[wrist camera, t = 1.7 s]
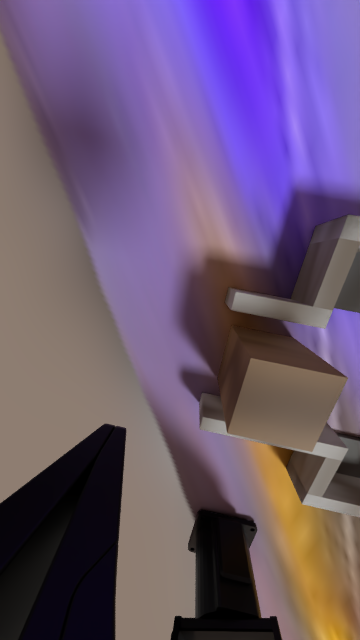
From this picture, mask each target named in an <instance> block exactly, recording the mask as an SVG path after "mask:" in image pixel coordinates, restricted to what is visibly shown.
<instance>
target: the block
mask: <svg viewBox="0 0 360 640" xmlns="http://www.w3.org/2000/svg"><path fill="white" fill-rule="evenodd" d="M217 379H218V385H219V390H220V396H221V401H222V407H223V413H224V418H225V424H226V429H227V433H228V434H233V435H237V436H242V437H246V438H251V439H255V440H260V441H264V442H269V443H273V444H278V445H282V446H287V447H291V448H296V449H300V450H305V451H309V452H312V451H313V449H314V447H315V445H316V443H317V441H318V439H319V437H320V435H321V433H322V431H323V429H324V427H325V425H326V422H327V420H328V418H329V416H330V414H331V412H332V410H333V408H334V406H335V404H336V402H337V400H338V398H339V396H340V394H341V392H342V390H343V387H344V385H345V383H346V381H347V379H348V378H347V377H346V376H345V375H343V374H342V373H341V372H339V371H338V370H336V369H335V368H334V367H332V366H331V365H330V364H328V363H327V362H326V361H324V360H323V359H321V358H320V357H319V356H317V355H316V354H315V353H313V352H312V351H311V350H309V349H308V348H306V347H305V346H304V345H302V344H301V343H300V342H298V341H297V340H296V339H294V338H293V337H288V336H283V335H278V334H273V333H268V332H263V331H258V330H253V329H248V328H243V327H238V326H233V325H231V329H230V333H229V336H228V340H227V344H226V348H225V351H224V355H223V359H222V362H221V366H220V370H219V373H218V377H217Z"/></svg>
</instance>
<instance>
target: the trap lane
mask: <svg viewBox="0 0 360 640" xmlns="http://www.w3.org/2000/svg"><path fill="white" fill-rule="evenodd" d="M225 303H226V304H227V306H228V307H229V308H230V309H231V310H233V311H238V312H243V313H248V314H253V315H258V316H263V317H268V318H273V319H279V320H284V321H289V322H294V323H299V324H304V325H309V326H314V327H319V328H324V329H325V328H326V325H327V323H328V321H329V318H330V316H331V313H332V311H333V308H337V309H342V310H347V311H353V312H358V313H360V216H355V215H349V214H348V215H345V216H343V217H340V218H337V219H334V220H331V221H328V222H326V223H323V224H320V225H317V226H316V227H315V230H314V232H313V235H312V238H311V241H310V244H309V247H308V250H307V253H306V256H305V258H304V261H303V264H302V267H301V270H300V273H299V276H298V279H297V282H296V284H295V287H294V290H293V293H292V296H291V299H287V298H282V297H277V296H272V295H267V294H261V293H256V292H251V291H246V290H241V289H236V288H230V287H228V291H227V295H226V299H225ZM199 414H200V429H201V430H205V431H210V432H214V433H219V434H223V435H228V436H232V437H237V438H241V439H246V440H250V441H255V442H259V443H264V444H268V445H273V446H277V447H282V448H286V449H291V450H294V452H293V454H292V456H291V458H290V460H289V463H288V465H287V467H286V469H287V471H288V473H289V476H290V478H291V480H292V483H293V485H294V487H295V489H296V492H297V494H298V496H299V498H300V501H301V503H302V504H304V505H309V506H313V507H317V508H322V509H326V510H330V511H335V512H339V513H343V514H348V515H352V516H356V517H360V438H357V437H353V436H348V435H344V434H339V433H335V432H334V431H333V429H332V428H331V427H330V426H329V425H328V423H327V422H326V425H325V427H324V429H323V431H322V433H321V435H320V437H319V439H318V441H317V443H316V445H315V447H314V449H313V451H312V452H309V451H305V450H300V449H296V448H291V447H287V446H282V445H278V444H273V443H269V442H264V441H260V440H255V439H251V438H246V437H242V436H237V435H233V434H228V433H227V429H226V424H225V418H224V413H223V407H222V401H221V396H217V395H212V394H207V393H203V392H202V395H201V399H200V403H199Z"/></svg>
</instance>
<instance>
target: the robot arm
mask: <svg viewBox="0 0 360 640" xmlns="http://www.w3.org/2000/svg"><path fill="white" fill-rule="evenodd" d="M125 441H126V428H123V427H119V426H116V427H115V426H114V425H110V424H104V425H102V426H101V427H100V428H98V429H97V430H96V431H94V432H93V433H92V434H91V435H89V436H88V437H87V438H85V439H84V440H83V441H81V442H80V443H79V444H77V445H76V446H75V447H74V448H72V449H71V450H70V451H68V452H67V453H66V454H64V455H63V456H62V457H60V458H59V459H58V460H57V461H55V462H54V463H53V464H51V465H50V466H49V467H47V468H46V469H45V470H43V471H42V472H41V473H40V474H38V475H37V476H36V477H34V478H33V479H32V480H30V481H29V482H28V483H26V484H25V485H24V486H22V487H21V488H20V489H19V490H17V491H16V492H15V493H13V494H12V495H11V496H9V497H8V498H7V499H6V500H4V501H3V502H2V503H0V640H115V596H116V575H117V557H118V540H119V526H120V512H121V497H122V483H123V470H124V455H125ZM256 532H257V527H256V524H255V523H254V522H250V521H246V520H242V519H237V518H233V517H229V516H225V515H220V514H216V513H212V512H208V511H204V510H200V511H198V514H197V517H196V520H195V523H194V527H193V530H192V533H191V536H190V540H189V543H188V550H189V551H191V552H194V553H196V589H195V590H196V591H195V594H196V597H195V618H182V617H181V616H175V620H174V627H173V631H172V634H171V640H282V637H281V633H280V629H279V625H278V621H277V617H276V616H270V618H261V612H260V607H259V602H258V596H257V591H256V585H255V580H254V574H253V569H252V563H251V558H250V552H249V548H250V546H251V543H252V541H253V539H254V537H255V534H256Z"/></svg>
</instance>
